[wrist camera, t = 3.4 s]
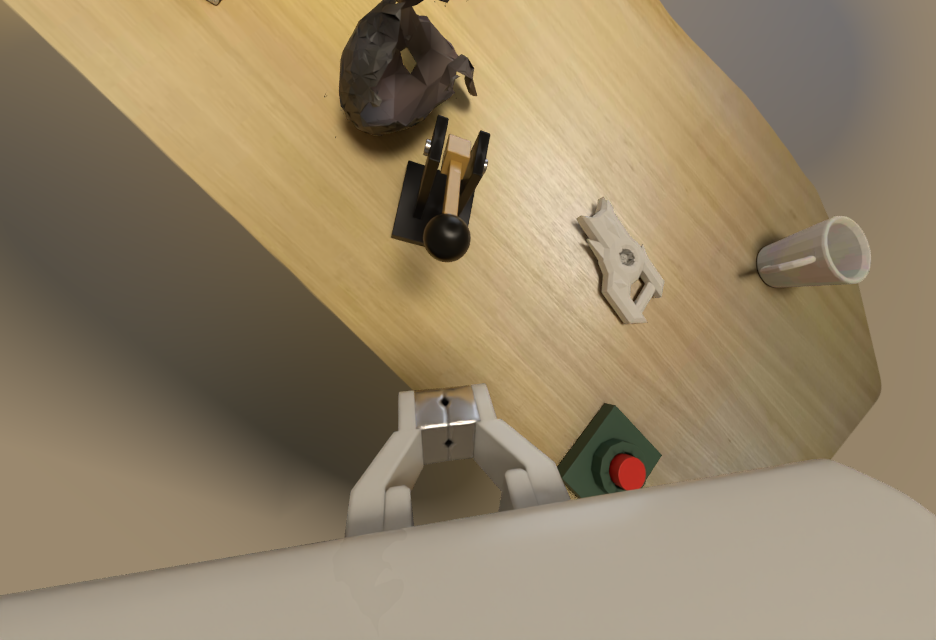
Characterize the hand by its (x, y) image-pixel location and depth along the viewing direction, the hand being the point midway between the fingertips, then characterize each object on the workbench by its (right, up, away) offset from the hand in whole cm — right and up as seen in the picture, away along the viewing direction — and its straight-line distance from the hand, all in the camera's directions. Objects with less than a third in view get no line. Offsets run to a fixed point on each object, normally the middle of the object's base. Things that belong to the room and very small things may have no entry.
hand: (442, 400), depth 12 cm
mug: (+52, +12, +46) cm, 71 cm away
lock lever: (-1, +13, +18) cm, 22 cm away
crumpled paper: (-8, +30, +32) cm, 45 cm away
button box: (+19, -17, +34) cm, 42 cm away
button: (+20, -16, +30) cm, 40 cm away
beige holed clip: (+22, +11, +38) cm, 45 cm away
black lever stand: (-3, +17, +31) cm, 36 cm away
